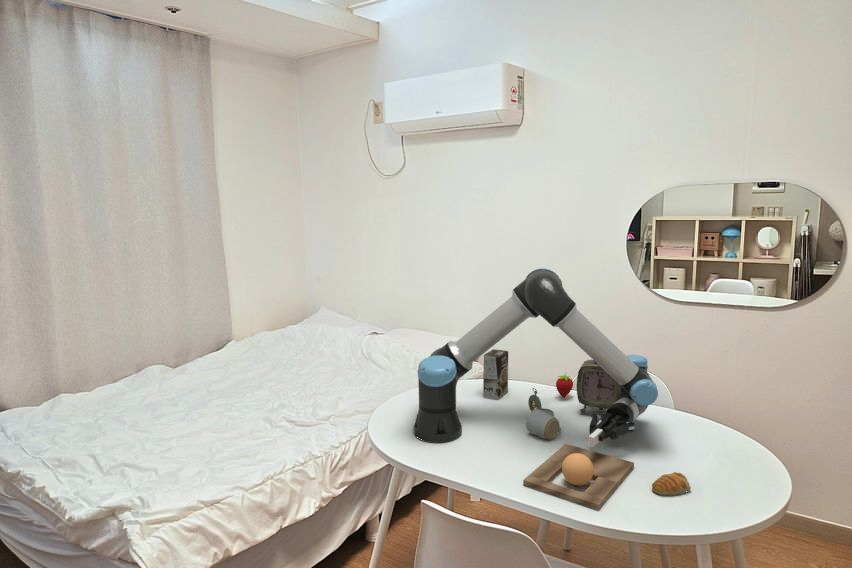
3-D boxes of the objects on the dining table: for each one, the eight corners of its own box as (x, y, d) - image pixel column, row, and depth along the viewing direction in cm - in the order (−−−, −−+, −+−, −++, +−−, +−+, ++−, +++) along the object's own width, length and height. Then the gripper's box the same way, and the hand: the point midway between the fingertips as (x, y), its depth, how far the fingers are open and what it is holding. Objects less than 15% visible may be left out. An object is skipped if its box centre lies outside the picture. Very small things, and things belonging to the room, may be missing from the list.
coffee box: (498, 400, 209) (499, 357, 206) (482, 397, 212) (482, 354, 209) (508, 392, 217) (509, 350, 214) (492, 389, 220) (493, 348, 217)
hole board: (523, 485, 150) (523, 480, 150) (565, 448, 171) (565, 443, 170) (598, 510, 138) (598, 504, 138) (633, 467, 159) (634, 462, 158)
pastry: (665, 501, 142) (665, 486, 142) (644, 488, 148) (645, 474, 148) (692, 492, 146) (693, 478, 146) (671, 480, 152) (672, 466, 152)
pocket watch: (556, 413, 196) (557, 385, 194) (547, 422, 189) (548, 393, 188) (533, 408, 201) (534, 381, 199) (524, 417, 194) (524, 388, 192)
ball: (569, 447, 156) (565, 477, 155) (560, 451, 149) (555, 482, 149) (599, 456, 152) (594, 486, 151) (591, 460, 145) (586, 492, 144)
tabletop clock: (575, 414, 195) (577, 342, 191) (580, 405, 203) (582, 336, 199) (620, 421, 189) (624, 347, 184) (623, 411, 197) (627, 340, 193)
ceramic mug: (545, 443, 174) (546, 419, 172) (524, 435, 180) (525, 411, 179) (567, 434, 180) (568, 411, 179) (547, 426, 187) (547, 403, 185)
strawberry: (575, 396, 211) (576, 370, 209) (568, 403, 205) (569, 376, 203) (560, 393, 214) (560, 367, 213) (552, 400, 208) (553, 373, 207)
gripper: (642, 430, 173) (613, 461, 155) (600, 420, 181) (568, 448, 163) (644, 407, 172) (615, 434, 154) (601, 397, 180) (568, 423, 162)
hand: (591, 441), depth 158 cm, fingers closed
